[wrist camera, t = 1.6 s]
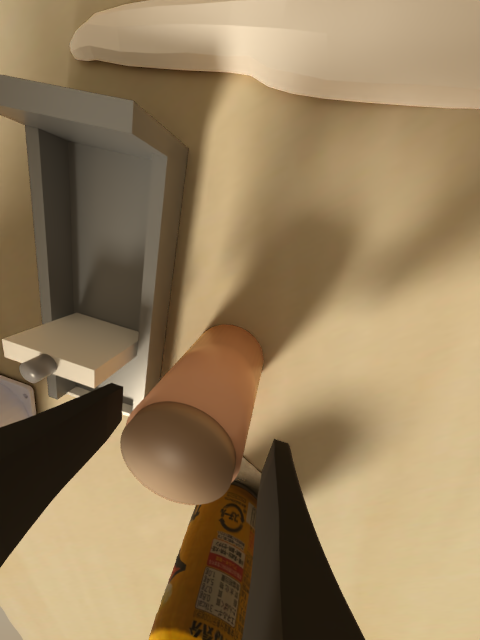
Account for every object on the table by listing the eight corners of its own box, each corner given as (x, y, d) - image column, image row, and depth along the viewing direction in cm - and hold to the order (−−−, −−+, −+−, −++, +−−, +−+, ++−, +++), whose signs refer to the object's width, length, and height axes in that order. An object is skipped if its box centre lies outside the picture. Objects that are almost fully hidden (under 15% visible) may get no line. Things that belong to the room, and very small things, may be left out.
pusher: (145, 348, 18) (79, 400, 12) (77, 326, 18) (-17, 365, 13) (147, 334, 17) (78, 380, 12) (76, 312, 18) (-20, 346, 12)
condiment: (182, 491, 23) (81, 728, 12) (241, 453, 20) (178, 725, 9) (236, 538, 24) (188, 804, 13) (301, 507, 21) (314, 826, 9)
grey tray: (155, 412, 20) (115, 465, 16) (72, 383, 21) (10, 424, 17) (188, 148, 13) (133, 100, 9) (61, 121, 14) (-51, 64, 10)
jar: (253, 395, 18) (223, 524, 10) (191, 375, 18) (114, 481, 10) (271, 336, 16) (252, 435, 8) (201, 315, 16) (118, 389, 9)
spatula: (78, 83, 13) (36, 42, 11) (81, -12, 13) (36, -78, 10) (652, 148, 10) (762, 111, 8) (711, 29, 10) (855, -51, 7)
